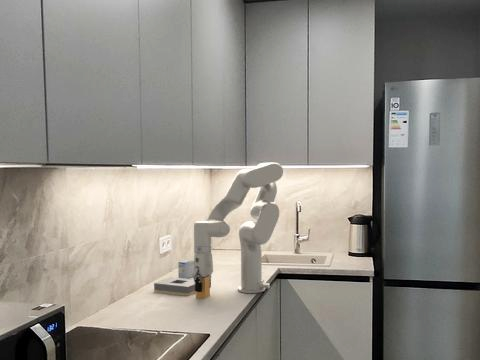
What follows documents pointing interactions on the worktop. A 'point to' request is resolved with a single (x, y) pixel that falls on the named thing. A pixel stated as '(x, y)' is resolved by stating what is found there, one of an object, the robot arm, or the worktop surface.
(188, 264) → the medicine box
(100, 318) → the worktop surface
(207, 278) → the plug
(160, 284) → the socket block
